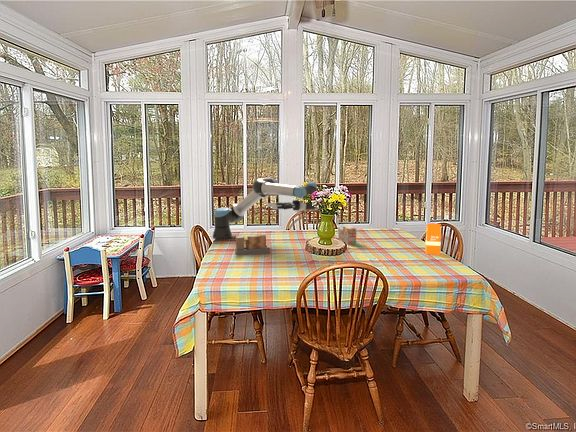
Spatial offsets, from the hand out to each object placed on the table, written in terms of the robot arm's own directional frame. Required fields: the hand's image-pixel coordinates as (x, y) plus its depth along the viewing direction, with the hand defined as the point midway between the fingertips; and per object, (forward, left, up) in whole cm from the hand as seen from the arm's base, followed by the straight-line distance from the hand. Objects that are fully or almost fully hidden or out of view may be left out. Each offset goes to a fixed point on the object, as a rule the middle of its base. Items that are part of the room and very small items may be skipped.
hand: (269, 206), depth 316 cm
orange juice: (+110, -10, -30) cm, 115 cm away
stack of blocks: (+56, +24, -30) cm, 68 cm away
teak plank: (-8, -12, -29) cm, 32 cm away
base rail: (-11, -13, -30) cm, 34 cm away
